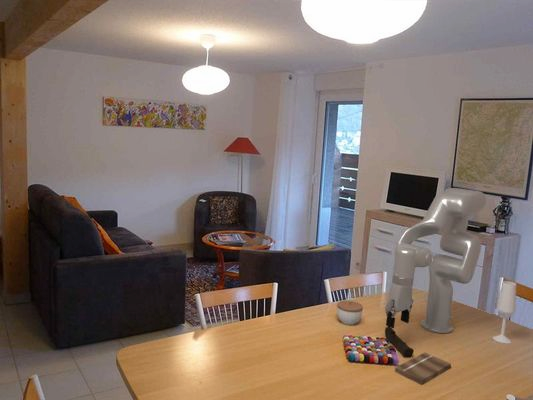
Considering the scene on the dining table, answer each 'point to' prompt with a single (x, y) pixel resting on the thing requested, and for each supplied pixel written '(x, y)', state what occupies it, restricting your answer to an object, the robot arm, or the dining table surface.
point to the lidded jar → (349, 312)
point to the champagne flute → (506, 307)
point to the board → (422, 368)
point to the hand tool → (398, 343)
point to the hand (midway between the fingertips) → (397, 324)
